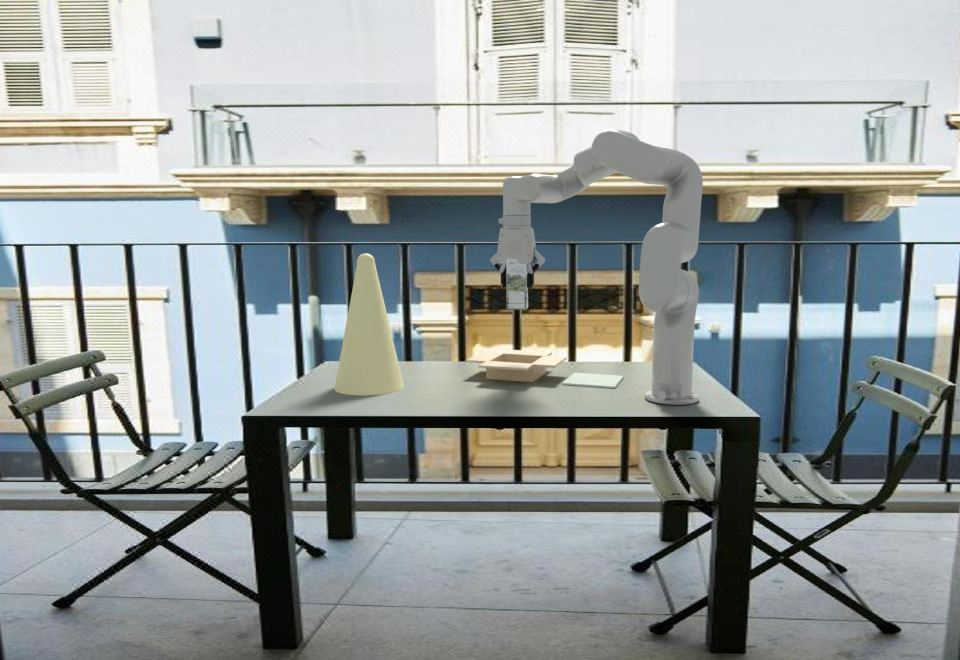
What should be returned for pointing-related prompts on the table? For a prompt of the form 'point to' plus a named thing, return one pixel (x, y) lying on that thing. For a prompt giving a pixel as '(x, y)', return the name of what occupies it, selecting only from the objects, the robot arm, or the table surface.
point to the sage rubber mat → (593, 380)
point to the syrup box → (516, 285)
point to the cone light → (367, 339)
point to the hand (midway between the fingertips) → (517, 286)
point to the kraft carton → (516, 364)
